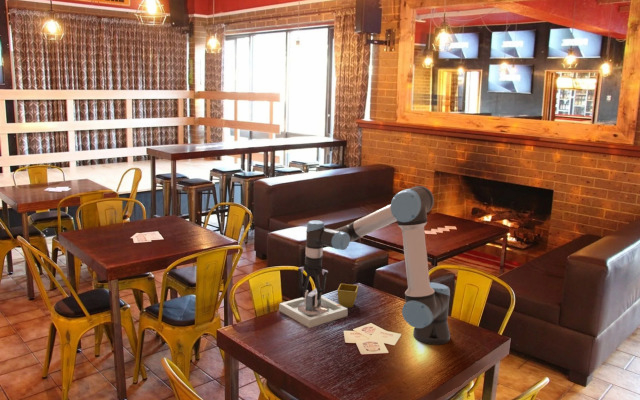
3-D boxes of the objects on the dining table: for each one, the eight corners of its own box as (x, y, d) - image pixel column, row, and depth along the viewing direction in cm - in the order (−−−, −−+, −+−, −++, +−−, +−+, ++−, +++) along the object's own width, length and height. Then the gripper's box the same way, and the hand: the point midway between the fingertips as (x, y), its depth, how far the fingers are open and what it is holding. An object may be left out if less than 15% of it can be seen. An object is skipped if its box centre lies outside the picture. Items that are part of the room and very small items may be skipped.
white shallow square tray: (347, 315, 256) (347, 308, 255) (309, 327, 242) (309, 319, 241) (316, 300, 272) (316, 293, 272) (279, 310, 258) (279, 302, 258)
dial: (333, 307, 260) (334, 290, 258) (320, 318, 248) (321, 300, 246) (306, 302, 266) (306, 284, 264) (292, 312, 253) (292, 294, 252)
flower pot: (354, 310, 263) (356, 291, 261) (336, 308, 264) (337, 289, 262) (357, 303, 271) (358, 285, 269) (339, 301, 273) (340, 283, 271)
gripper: (334, 255, 251) (331, 304, 256) (296, 250, 254) (294, 299, 259) (331, 260, 244) (328, 311, 249) (293, 256, 246) (290, 306, 252)
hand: (310, 305), depth 254 cm, fingers closed on dial, 4 cm apart
